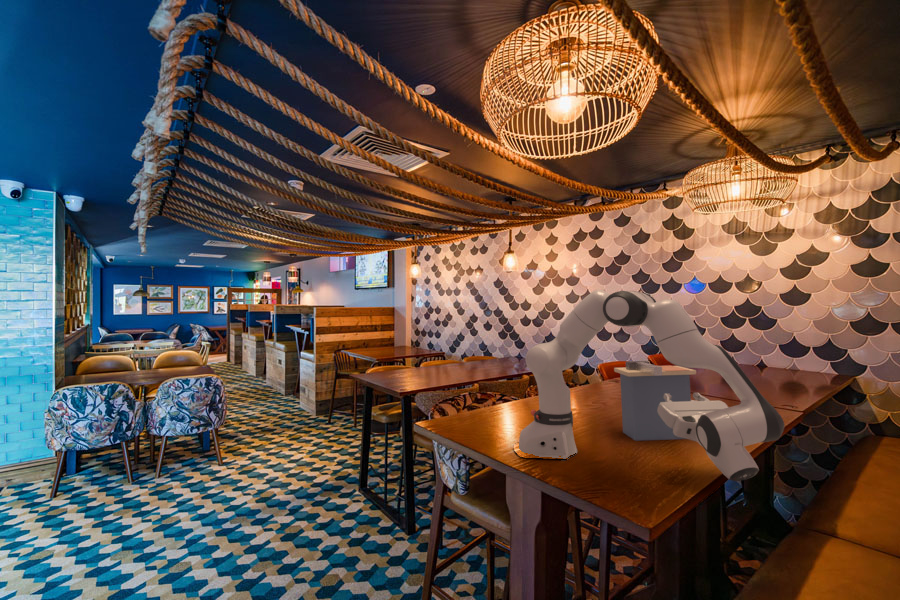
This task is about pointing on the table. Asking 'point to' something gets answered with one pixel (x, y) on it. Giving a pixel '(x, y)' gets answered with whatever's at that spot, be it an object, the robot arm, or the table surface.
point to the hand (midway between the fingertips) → (680, 394)
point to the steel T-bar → (644, 367)
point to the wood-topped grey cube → (651, 400)
